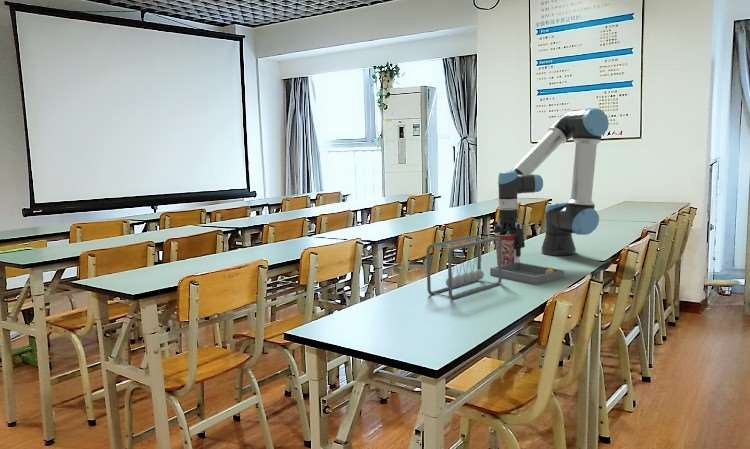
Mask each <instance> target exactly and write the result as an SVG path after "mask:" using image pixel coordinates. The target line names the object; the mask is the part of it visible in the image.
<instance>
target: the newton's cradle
mask: <svg viewBox="0 0 750 449" xmlns="http://www.w3.org/2000/svg"><path fill="white" fill-rule="evenodd" d="M481 238H482V239H481ZM471 240H474V241H471ZM496 240H498V252H499V277H498V280H497V282H491V281H488V280H487V281H486V280H482V279H483V278H484V276H485V274H484V271H483V270H482V268H481V266H482V265H481V264H482V256H483V253H482V251H484V250H483V248H484V246H482V247H481V245H484V244H485V243H491V242H493V241H496ZM467 241H469V242H467ZM462 242H465V243H462ZM459 243H460V244H459ZM454 244H457V245H454ZM448 245H451V246H448ZM447 246H448V247H447ZM472 246H473V250H474V261H473V263H476V264H477V265H476V268H477V269H475V270H474V268H475V265H473V268H472V265H471V264H469V263H466V264H467V265H466V268H468V266H470V268H472V270H470V271H468V270H465V269H463V271H464V272H463V273H462V274H460V273H459V272H461V271H462V270H461V269H462V267H460V268H459V271H458V269H456V272H457V274H456V275H455V276H454V277H453V275H454V272H453V271H454V269H455V267H456V268H458V265H457V263H456V262H457V260H456V258H457V253H456V252H457V250H462V251H460V254H461V262H460V265H463V267H465V266H464V263H463V261H464V260H463V257H464V256H463V254H464V253H463V251H464V248H466V249H467V250H468V252H467V253H468V258H467V261H468V262H471V260H470V253H471V252H470V251H471V249H469V248H471V247H472ZM475 246H476V247H475ZM432 248H441V249H442V248H443V249H446V251H445V252H447V253H446V258H447V267H448V268H447V270H448V271H447V273H448V277H447V278H446V279H445V285H446V287H443V288H440V289H436V290H434V291H432V290H431V287H432V286H431V249H432ZM481 248H482V249H481ZM448 249H449V250H448ZM452 253H454V263H453V265H456V266H453V265H452ZM476 254H477V255H476ZM476 258H477V259H476ZM452 267H453V268H452ZM467 272H468V273H467ZM502 279H503V278H502V242H501V239H500V238H499V237H495V238H494V237H491V236H490V237H489V236H480V235H478V234H474V235H469V236H464V237H459V238H454V239H450V240H445V241H441V242H436V243H431V244H428V246H427V248H426V285H427V286H426V287H427V288H426V290H427V293H428V294H429V295H430V296H433V295H434V296H435V295H436V296H437V295H438V296H440V297H441V296H442V297H446V298H447V297H448V298H450V300H451V299H452V300H456V299H459V298H462V297H465V296H469V295H472V294H475V293H479V292H481V291H485V290H487V289H491V288H494V287H496V286H499V285H500V284H501V283H502ZM478 282H481V283H488V284H487V285H484V286H481V287H478V288H474V289H471V290H468V291H465V292H461V293H458V294H455V295H453V289H458V288H460V287H464V286H467V285H471V284H474V283H478ZM446 291H448V295H446V294H441V293H444V292H446Z"/></svg>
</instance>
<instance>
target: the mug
mask: <svg viewBox="0 0 750 449" xmlns="http://www.w3.org/2000/svg"><path fill="white" fill-rule="evenodd" d="M516 235H517V234H515V235H511V234H510V233H509V231H507V232H506V234H505V235H500V232H498V233H495V237H499V238H500V239H501V242H502V265H507V264H512V263H514V248H515V246H514V239H515V237H516ZM495 250H496V251H495V252H496V263H497V264H496V265H497V266H499V252H498V240H496V245H495Z"/></svg>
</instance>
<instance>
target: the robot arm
mask: <svg viewBox="0 0 750 449" xmlns="http://www.w3.org/2000/svg"><path fill="white" fill-rule="evenodd" d="M608 129H609V117H608V116H607V114H606V113H605V112H604V111H603V110H602V109H601V108H596V107H595V108H594V107H590V108H589V107H588V108H583V109H573V110H570V111H568V112H566V113H564V114H563V115H562V116H560V117H559V118H558V119H557V120H556V121H555V122H553V124H552V125H551V126H550V127H549V128H548V132H547V133H546V134H545V135H544V136H543V137H542V138H541V139H540V140H539V141H538V142H537V143H536V144H535V146H533V147H532V149H530V150H529V151H528V153H527V154H526V155H525V156H523V158H521V160H520V161H519V162H518V163H517V164H516V165H515V166H514V167H513V168H512V169H511V170H510V171H509V170H508V171H500V172H499V174H498V178H497V179H498V180H497V181H498V182H497V185H498V209H499V210H498V218H499V221H494V224H493V225H494V232H493V238H495V233H498V232H500V235H505V234H506V232H509V233H510V234H511V235H515V234H517V235H516V237H515V239H514V246H515V248H514V263H517V262H519V263H521V262H520V258H521V255H522V254H521V253H522V252H521V251H522V249H523V248H525V246H526V244H525V238H524V231H523V228H524V223H520V222H518V221H517V219H518V215H519V214H518V195H519V194H530V193H531V194H532V193H533V194H535V193H539V192H541V191H542V190H543V187H544V179H543V178H542V176H541V175H540V174H533V173H534V172H535V171H536V170H537V169H538V168H539V167H540V166H541V164H542V163H544V162H545V161H546V159H547V158H549V157H550V155H551V154H552V153H553V152H554V151H555V150H556V149H557V148H558V147H559V146H560V145H561V144H562V145H564V144H565V143H566V142H567V141H568V140H570V139H572V141H573V142H574V143H575V150H574V160H573V169H572V170H573V172H572V183H571V192H570V199H569V200H568V201H567V202H561V203H559V202H558V203H548V204H546V206H545V211H544V212H545V213H544V215H545V220H544V221H545V224H544V225H545V234H544V235H545V236H544V238H543V239H544V240H543V242H542V246H541V253H542V254H543V255H547V256H571V255H572V256H573V255H575V254H577V250H576V248H577V247H576V245H575V242H574V239H573V234H576V235H581V236H583V235H584V236H588V235H590V234H592V233H593V232H594V231H595V230H596V229H597V228H598V226H599V222H600V216H599V214H598V212H597V210H596V209H595V203H594V202H593V200H592V198H593V189H594V177H595V167H596V156H597V149H598V148H597V145H598V144H600V142H602V136H603V135H605V134H606V132H607V131H608ZM492 243H493V245H495V246H496V241H492Z"/></svg>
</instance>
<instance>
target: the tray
mask: <svg viewBox="0 0 750 449" xmlns="http://www.w3.org/2000/svg"><path fill="white" fill-rule="evenodd" d="M547 269H552V270H553V271H554V272H551V273H546V274H545V272H546V270H547ZM489 273H490V276H494V277H498V278H499V266H498V265H497V266H492V267H489ZM564 273H565V270H562V269H557V268H552V267H548V266H547V267H546V266H541V265H537V264H536V265H535V264H530V263H524V262H520V263H519V262H517V263H512V264H507V265H502V279H507V280H512V281H516V282H517V281H518V282H522V283H526V284H530V285H539V284H542V283H543V284H544V283H549V282H551V281H555V280H561V279H564V277H565V276H564V275H565V274H564Z"/></svg>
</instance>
